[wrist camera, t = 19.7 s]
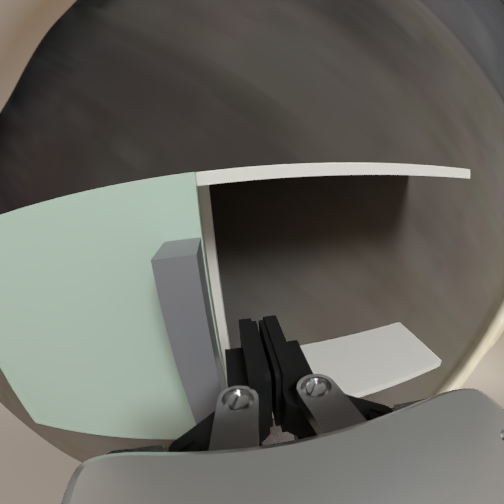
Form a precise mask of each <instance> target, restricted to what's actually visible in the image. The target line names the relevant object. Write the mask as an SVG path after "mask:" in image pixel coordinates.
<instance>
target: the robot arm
mask: <svg viewBox="0 0 504 504" xmlns="http://www.w3.org/2000/svg"><path fill="white" fill-rule="evenodd" d="M239 329H240V338H241V348H235V349H225V357H226V371H227V384H228V388H227V389H225V390H223V391H222V392H221V393H220V394H219V396H218V399H217V405H216V410H215V411H214V412H212V413H211V414H210V415H209V416H207V417H206V418H205V419H203V420H202V421H201V422H200V423H198V424H197V425H196V426H194V427H193V428H192V429H190V430H189V431H188V432H186V433H185V434H183V435H182V436H181V437H179V438H178V439H176V440H175V441H174V442H173V443H172V444H171V445H170V446H167V447H163V446H162V445H156V446H149V447H141V448H132V449H122V450H114V451H110V452H109V453H107V454H106V455H102V456H98V457H94V458H91V459H89V460H86V461H85V462H83V463H81V464H80V465H79V466H78V467H77V469H76V470H75V471H74V473H73V475H72V476H71V479H70V481H69V483H68V485H67V488H66V491H65V493H64V496H63V500H62V503H61V504H504V409H502V407H501V406H500V405H499V404H498V403H497V402H495V401H494V400H493V399H492V398H490V397H489V396H488V395H487V394H485V393H483V392H482V391H479V390H476V389H458V390H452V391H449V392H444V393H441V394H438V395H435V396H432V397H430V398H427V399H422V400H418V401H413V402H408V403H403V404H397V405H394V406H393V408H389V407H388V406H385V405H382V404H378V403H375V402H371V401H367V400H364V399H360V398H357V397H354V396H350V395H347V394H344V392H343V391H342V390H341V389H340V388H339V386H338V385H337V384H336V383H335V382H334V380H332V379H331V378H330V377H328V376H326V375H322V374H313V372H312V370H311V368H310V366H309V364H308V362H307V360H306V358H305V355H304V353H303V351H302V349H301V347H300V345H299V343H298V341H297V340H295V341H288V342H286V339H285V337H284V334H283V332H282V330H281V327H280V325H279V322H278V320H277V318H276V316H275V315H274V316H266V317H263V320H260V321H259V330H258V327H257V323H256V321H251V318H250V319H241V320H239ZM259 333H260V334H259ZM272 412H273V416H274V420H275V424H276V426H279V425H281V428H282V432H286V431H287V432H289V433H291V434H294V439H295V440H293V441H288V442H283V443H277V444H271V445H264V446H262V442H263V441H264V440H265V439H266V438H267V437H268V436H269V435H270V427H273V416H272Z"/></svg>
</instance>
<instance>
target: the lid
mask: <svg viewBox="0 0 504 504" xmlns="http://www.w3.org/2000/svg"><path fill="white" fill-rule="evenodd" d="M0 367H1V369H2V371H3V373H4V375H5V376H6V378H7V380H8V382H9V383H10V385H11V387H12V388H13V390H14V392H15V393H16V395H17V396H18V398H19V400H20V401H21V403H22V404H23V406H24V407H25V409H26V410H27V411H28V413H29V414H30V416H31V417H32V418H33V420H34V421H35V423H39V424H43V425H47V426H52V427H56V428H61V429H66V430H71V431H77V432H83V433H89V434H97V435H105V436H114V437H125V438H140V439H178V438H179V437H181V436H182V435H183V434H185V433H186V432H188V431H189V430H190V429H192V428H193V427H194V426H196V425H197V424H198V423H200V422H201V421H202V420H203V419H205V418H206V417H207V416H209V415H210V414H211V413H212V412H214V411H215V410H216V405H217V399H218V396H219V394H220V393H221V392H222V391H223V390H225V389H227V388H228V385H227V380H226V375H225V369H224V364H223V359H222V353H221V348H220V342H219V337H218V331H217V325H216V319H215V313H214V307H213V300H212V294H211V287H210V281H209V274H208V267H207V260H206V253H205V245H204V238H203V230H202V222H201V213H200V205H199V196H198V186H197V177H196V172H190V173H182V174H175V175H169V176H162V177H156V178H150V179H144V180H138V181H132V182H127V183H122V184H117V185H112V186H107V187H102V188H97V189H93V190H88V191H84V192H80V193H75V194H71V195H67V196H63V197H59V198H56V199H52V200H48V201H44V202H41V203H37V204H34V205H30V206H27V207H24V208H20V209H17V210H14V211H11V212H8V213H5V214H2V215H0Z"/></svg>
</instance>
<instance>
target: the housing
mask: <svg viewBox="0 0 504 504" xmlns="http://www.w3.org/2000/svg"><path fill="white" fill-rule="evenodd" d="M333 175H417V176H440V177H456V178H470V169H462V168H453V167H443V166H430V165H416V164H397V163H302V164H281V165H265V166H252V167H240V168H230V169H220V170H211V171H203V172H196V177H197V186H198V196H199V205H200V213H201V222H202V230H203V238H204V245H205V253H206V260H207V267H208V274H209V281H210V287H211V294H212V300H213V307H214V313H215V319H216V325H217V331H218V337H219V342H220V348H221V353H222V359H223V364H224V369H225V375H226V380H227V371H226V357H225V349H230V343H229V336H228V330H227V323H226V316H225V310H224V303H223V295H222V288H221V281H220V273H219V266H218V258H217V250H216V242H215V233H214V225H213V216H212V207H211V198H210V188H209V185H211V184H220V183H229V182H239V181H250V180H262V179H275V178H290V177H308V176H333ZM300 347H301V349H302V351H303V353H304V355H305V358H306V360H307V362H308V364H309V366H310V368H311V370H312V372H313V374H322V375H326V376H328V377H330V378H331V379H332V380H334V382H335V383H336V384H337V385H338V386H339V388H340V389H341V390H342V391H343V392H344V394H347V395H350V396H354V397H357V398H359V397H362V396H365V395H368V394H371V393H374V392H377V391H380V390H383V389H386V388H389V387H391V386H394V385H397V384H399V383H402V382H404V381H407V380H409V379H412V378H414V377H416V376H419V375H421V374H423V373H426V372H428V371H430V370H432V369H435V368H437V367H439V366H440V364H441V361H442V360H441V359H439V358H438V357H437V356H436V355H435V354H434V353H433V352H432V351H431V350H430V349H429V348H428V347H426V346H425V345H424V344H423V343H422V342H421V341H420V340H419V339H418V338H417V337H415V336H414V335H413V334H412V333H411V332H410V331H409V330H408V329H407V328H405V327H404V326H403V325H402V324H401V323H400V322H398V323H394V324H391V325H387V326H383V327H380V328H376V329H372V330H368V331H365V332H361V333H356V334H352V335H348V336H344V337H339V338H335V339H330V340H326V341H321V342H316V343H311V344H306V345H301V346H300ZM227 385H228V384H227ZM272 416H273V412H272ZM273 418H274V416H273Z"/></svg>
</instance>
